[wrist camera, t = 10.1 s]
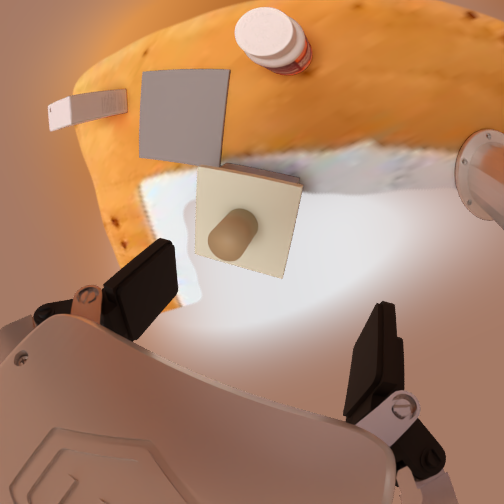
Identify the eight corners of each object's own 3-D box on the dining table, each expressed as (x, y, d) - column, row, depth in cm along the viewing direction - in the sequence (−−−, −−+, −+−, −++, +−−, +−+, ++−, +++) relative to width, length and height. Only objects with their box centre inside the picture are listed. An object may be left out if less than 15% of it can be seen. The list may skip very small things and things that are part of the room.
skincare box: (104, 118, 38) (49, 132, 28) (102, 95, 35) (46, 104, 26) (129, 112, 36) (71, 125, 26) (127, 88, 34) (69, 94, 24)
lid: (303, 185, 29) (294, 203, 24) (283, 274, 35) (272, 304, 30) (201, 164, 31) (174, 178, 26) (198, 250, 37) (176, 274, 32)
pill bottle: (315, 74, 27) (304, 58, 18) (265, 78, 29) (232, 66, 20) (309, 30, 24) (295, -2, 15) (260, 35, 26) (225, 9, 17)
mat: (230, 70, 29) (229, 69, 29) (219, 168, 37) (218, 169, 37) (144, 72, 32) (142, 71, 32) (140, 156, 39) (139, 157, 39)
